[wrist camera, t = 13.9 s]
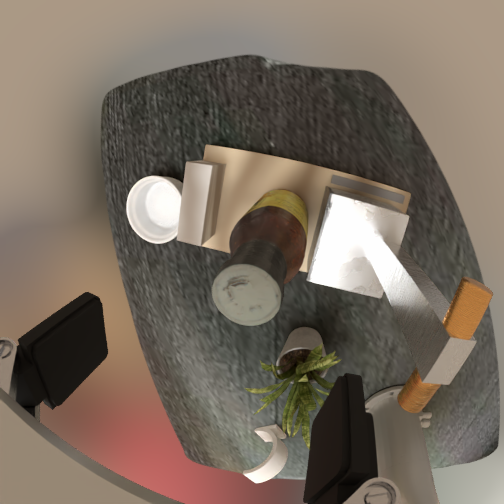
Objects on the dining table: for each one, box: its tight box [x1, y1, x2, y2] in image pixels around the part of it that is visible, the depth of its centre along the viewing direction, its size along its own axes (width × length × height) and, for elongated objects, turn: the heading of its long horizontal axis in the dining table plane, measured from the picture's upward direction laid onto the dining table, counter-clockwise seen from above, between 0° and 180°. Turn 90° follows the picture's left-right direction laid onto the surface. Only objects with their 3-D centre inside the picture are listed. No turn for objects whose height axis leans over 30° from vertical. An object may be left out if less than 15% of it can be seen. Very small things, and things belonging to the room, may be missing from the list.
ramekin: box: [127, 176, 183, 244], centre depth 36 cm, size 9×9×4 cm
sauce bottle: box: [212, 189, 308, 326], centre depth 24 cm, size 6×6×20 cm
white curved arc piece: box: [243, 424, 288, 483], centre depth 45 cm, size 5×6×12 cm
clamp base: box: [177, 145, 411, 272], centre depth 32 cm, size 26×13×7 cm, turn 80°
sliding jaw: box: [306, 186, 493, 413], centre depth 22 cm, size 8×9×23 cm
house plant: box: [245, 327, 341, 450], centre depth 34 cm, size 14×14×16 cm
